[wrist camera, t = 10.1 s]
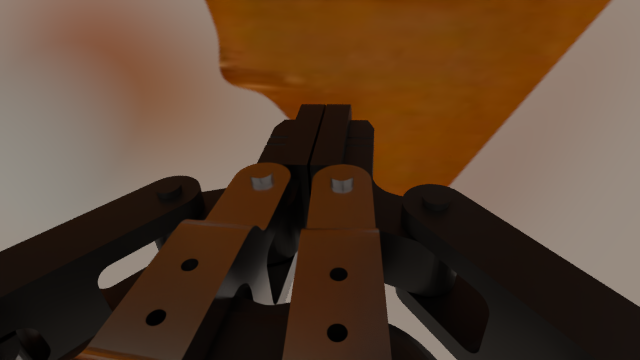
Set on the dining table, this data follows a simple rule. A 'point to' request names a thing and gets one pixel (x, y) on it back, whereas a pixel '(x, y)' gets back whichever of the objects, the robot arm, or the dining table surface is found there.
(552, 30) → the dining table surface
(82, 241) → the robot arm
